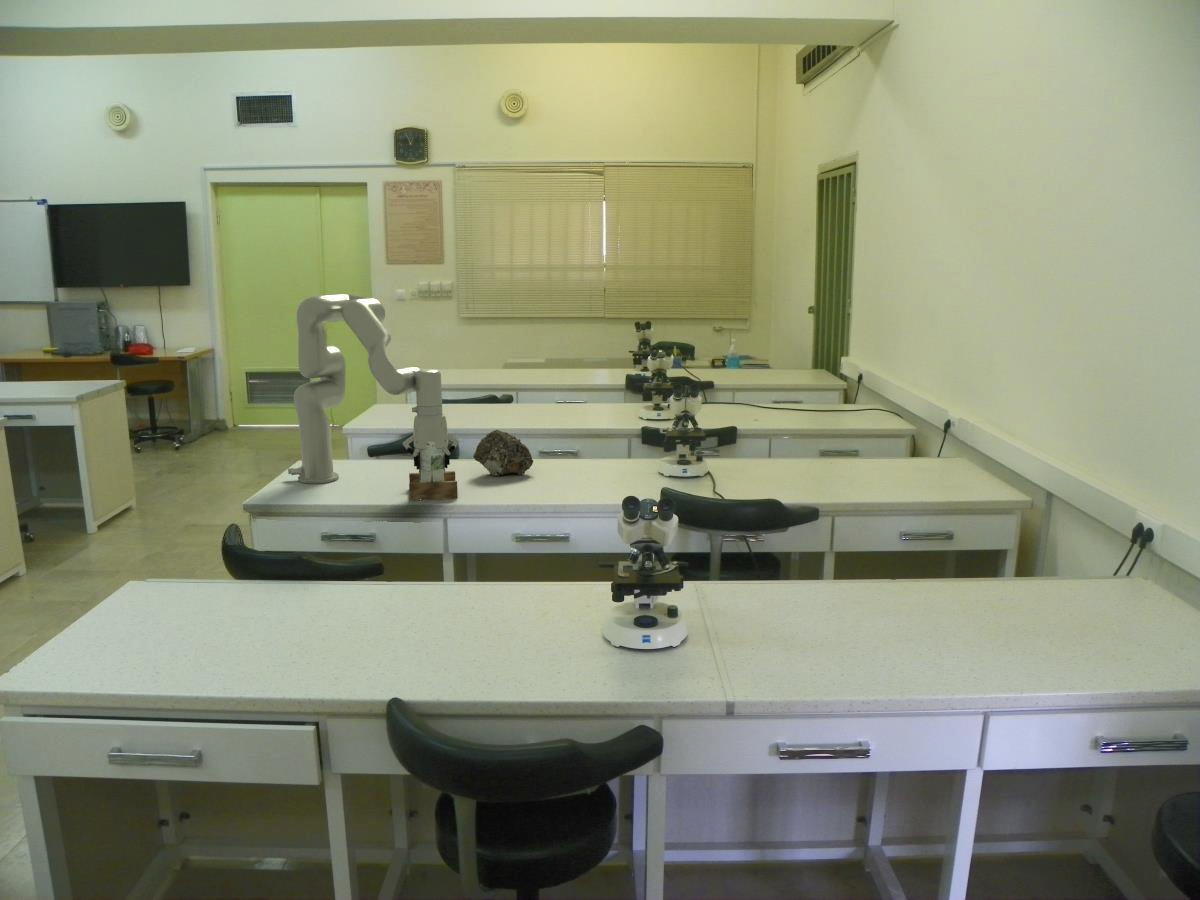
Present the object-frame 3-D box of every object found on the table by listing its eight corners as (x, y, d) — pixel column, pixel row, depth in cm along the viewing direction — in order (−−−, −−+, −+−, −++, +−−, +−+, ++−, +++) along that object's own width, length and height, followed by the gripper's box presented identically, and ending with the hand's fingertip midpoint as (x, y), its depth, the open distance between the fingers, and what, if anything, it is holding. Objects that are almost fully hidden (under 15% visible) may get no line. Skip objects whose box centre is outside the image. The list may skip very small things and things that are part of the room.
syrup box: (433, 481, 280) (431, 435, 277) (446, 484, 277) (444, 438, 274) (419, 485, 276) (416, 438, 273) (431, 488, 272) (429, 441, 269)
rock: (494, 427, 290) (499, 411, 304) (465, 458, 294) (471, 441, 308) (538, 463, 295) (540, 445, 309) (509, 493, 299) (513, 474, 313)
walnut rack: (409, 500, 269) (409, 484, 268) (409, 488, 282) (409, 473, 281) (457, 498, 272) (457, 481, 271) (455, 486, 285) (454, 470, 284)
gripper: (399, 414, 266) (402, 472, 270) (459, 412, 270) (461, 469, 273) (400, 409, 273) (402, 466, 277) (458, 407, 277) (460, 463, 281)
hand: (432, 467), depth 275 cm, fingers closed on syrup box, 8 cm apart
